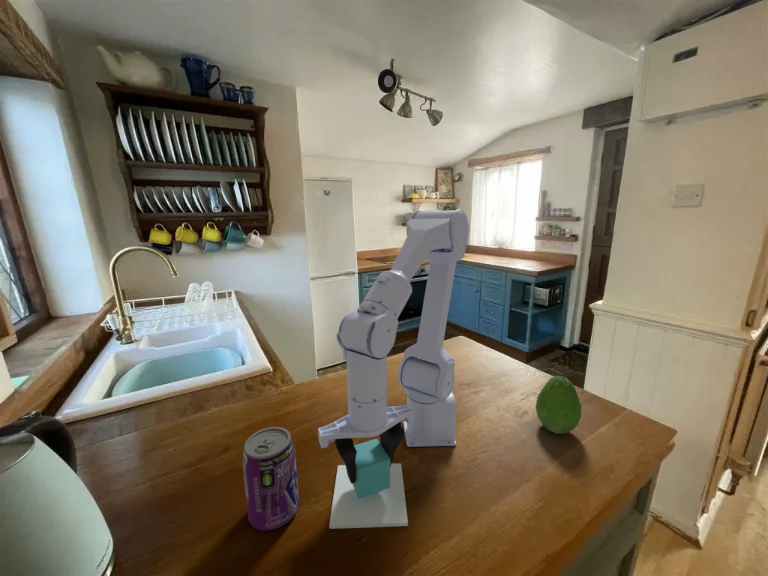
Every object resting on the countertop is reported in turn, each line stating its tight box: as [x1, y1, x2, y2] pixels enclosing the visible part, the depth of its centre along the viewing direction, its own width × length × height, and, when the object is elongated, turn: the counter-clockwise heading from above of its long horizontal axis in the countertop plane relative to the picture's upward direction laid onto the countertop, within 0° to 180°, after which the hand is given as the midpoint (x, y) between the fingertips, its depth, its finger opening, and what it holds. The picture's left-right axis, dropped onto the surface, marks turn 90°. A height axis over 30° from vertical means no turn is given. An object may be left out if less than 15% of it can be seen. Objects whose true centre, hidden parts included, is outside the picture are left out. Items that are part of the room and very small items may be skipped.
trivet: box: [328, 463, 409, 530], centre depth 49 cm, size 11×11×1 cm
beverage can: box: [241, 426, 300, 531], centre depth 45 cm, size 7×7×12 cm
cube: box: [352, 438, 390, 499], centre depth 48 cm, size 5×5×5 cm
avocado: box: [535, 375, 582, 435], centre depth 63 cm, size 8×8×12 cm
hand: (368, 472), depth 49 cm, fingers closed on cube, 5 cm apart
